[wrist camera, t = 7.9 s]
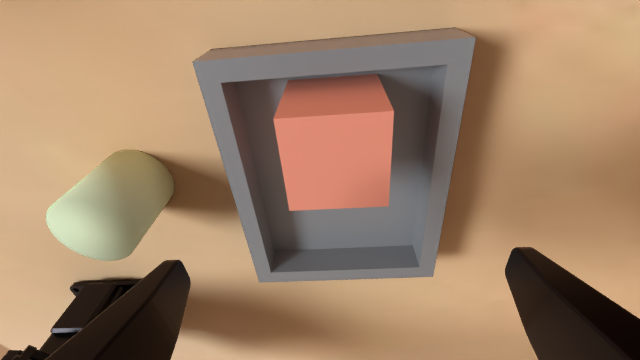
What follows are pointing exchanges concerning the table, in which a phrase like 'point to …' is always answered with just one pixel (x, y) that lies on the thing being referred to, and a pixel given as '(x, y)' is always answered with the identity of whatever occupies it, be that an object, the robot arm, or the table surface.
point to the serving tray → (406, 161)
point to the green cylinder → (112, 206)
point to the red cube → (335, 142)
